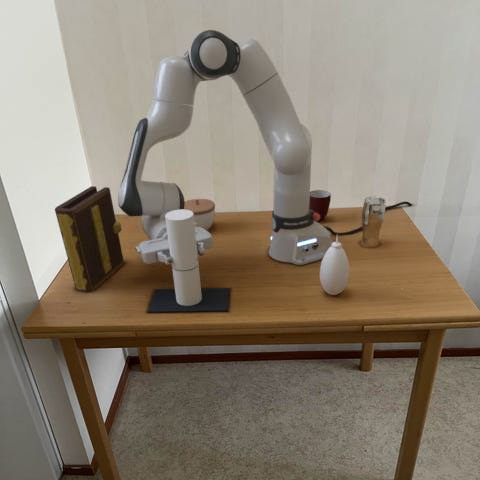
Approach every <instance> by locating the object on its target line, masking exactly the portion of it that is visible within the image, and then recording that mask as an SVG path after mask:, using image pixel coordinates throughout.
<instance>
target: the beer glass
mask: <svg viewBox="0 0 480 480" xmlns="http://www.w3.org/2000/svg"><path fill="white" fill-rule="evenodd" d="M385 207H386V199H385V198H383V197H380V196H368V197H365V198H364V200H363V205H362V211H361V226H363V229H362V235H361V239H360V245H361V246H362V247H365V248H377V247H378V246H380V232H381V228H382V226H383V223H384V219H385V214H386V210H385Z"/></svg>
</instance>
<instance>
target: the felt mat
mask: <svg viewBox="0 0 480 480" xmlns="http://www.w3.org/2000/svg"><path fill="white" fill-rule="evenodd" d="M230 293H231V287H201V294H202V300H201V301H200V302H199V303H197V304H195V305H191V306H184V305H180V304H178V303H177V300H176V293H175V288H155V289H154V291H153V293H152V296H151V300H150V302H149V306H148V308H147V310H146V312H147V314H166V313H167V314H168V313H169V314H170V313H171V314H172V313H223V312H224V313H227V312H229V306H230V305H229V303H230Z"/></svg>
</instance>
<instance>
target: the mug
mask: <svg viewBox="0 0 480 480" xmlns="http://www.w3.org/2000/svg"><path fill="white" fill-rule="evenodd" d="M331 196H332V194H331V192H330V191H328V190H324V189H313V190H310V202H309V209H311V210H313V211H314V213H318V214H319V215H320V219H319V220H318V221H316V220H315V219H314V220H315V221H316V222H317V223H322V222H324V220H325V219H326V217H327V215H328V213H329V209H330V205H331V198H332V197H331Z"/></svg>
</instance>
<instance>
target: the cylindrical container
mask: <svg viewBox="0 0 480 480" xmlns="http://www.w3.org/2000/svg"><path fill="white" fill-rule="evenodd" d="M165 219H166V227H167V234H168V241H169V249H170V256H171V259H172V260H171V261H172V263H171V271H172V279H173V283H174V284H173V285H174V289H175V293H176V300H177V303H178V304H180V305H184V306H191V305H195V304H197V303H199V302H200V301H201V300H202V294H201V288H202V287H201V276H200V275H201V274H200V267H199V257H198V256H199V255H198V252H197V245H196V235H195V225H194V215H193V212H192V211H190V210H185V209H179V210H173V211H170V212H168V213H167V214H166V215H165Z"/></svg>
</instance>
